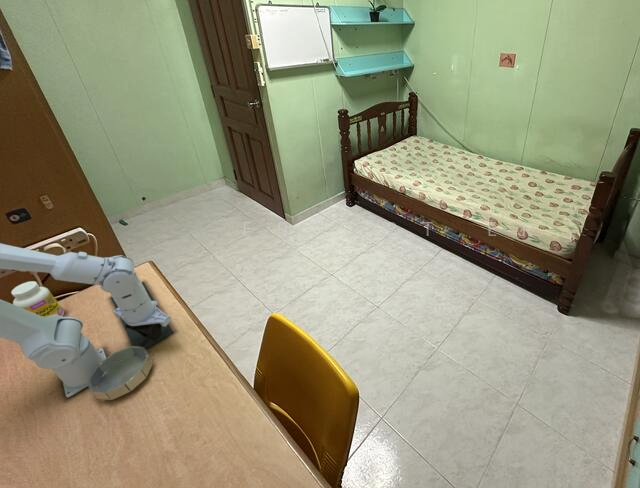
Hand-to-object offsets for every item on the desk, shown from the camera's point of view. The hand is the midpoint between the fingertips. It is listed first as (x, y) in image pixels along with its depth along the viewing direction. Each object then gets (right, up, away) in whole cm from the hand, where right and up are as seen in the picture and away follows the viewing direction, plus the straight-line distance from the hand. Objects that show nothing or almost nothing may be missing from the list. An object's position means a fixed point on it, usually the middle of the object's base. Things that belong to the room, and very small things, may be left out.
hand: (154, 336), depth 82 cm
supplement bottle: (-35, +2, +7) cm, 36 cm away
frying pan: (0, -5, -4) cm, 6 cm away
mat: (-11, +2, +9) cm, 14 cm away
